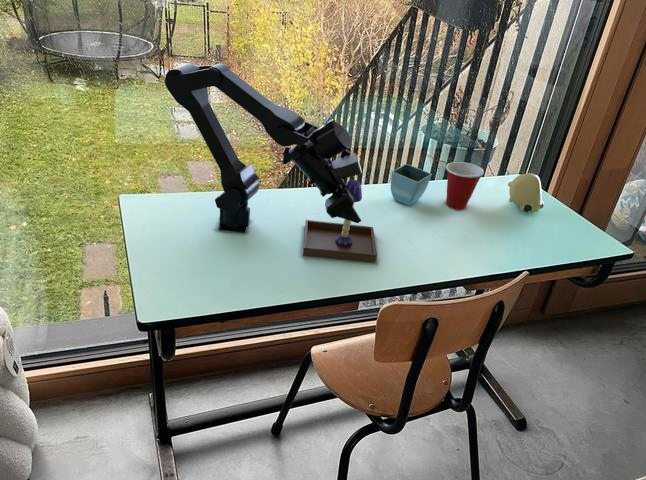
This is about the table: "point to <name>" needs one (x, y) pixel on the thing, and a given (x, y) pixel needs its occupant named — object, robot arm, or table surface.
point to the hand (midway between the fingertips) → (356, 212)
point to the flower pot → (408, 183)
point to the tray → (324, 246)
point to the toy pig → (526, 193)
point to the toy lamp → (344, 239)
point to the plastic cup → (461, 183)
